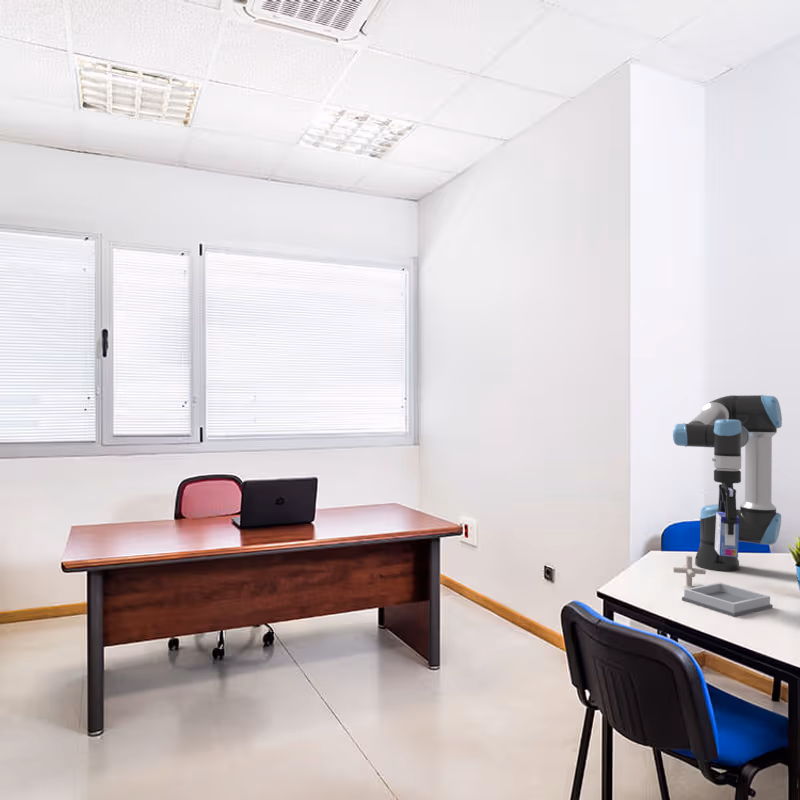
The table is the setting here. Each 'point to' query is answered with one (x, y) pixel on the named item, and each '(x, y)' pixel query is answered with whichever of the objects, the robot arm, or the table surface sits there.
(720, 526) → the ink cartridge box
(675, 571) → the pipe connector
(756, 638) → the table surface
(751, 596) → the cartridge dock
